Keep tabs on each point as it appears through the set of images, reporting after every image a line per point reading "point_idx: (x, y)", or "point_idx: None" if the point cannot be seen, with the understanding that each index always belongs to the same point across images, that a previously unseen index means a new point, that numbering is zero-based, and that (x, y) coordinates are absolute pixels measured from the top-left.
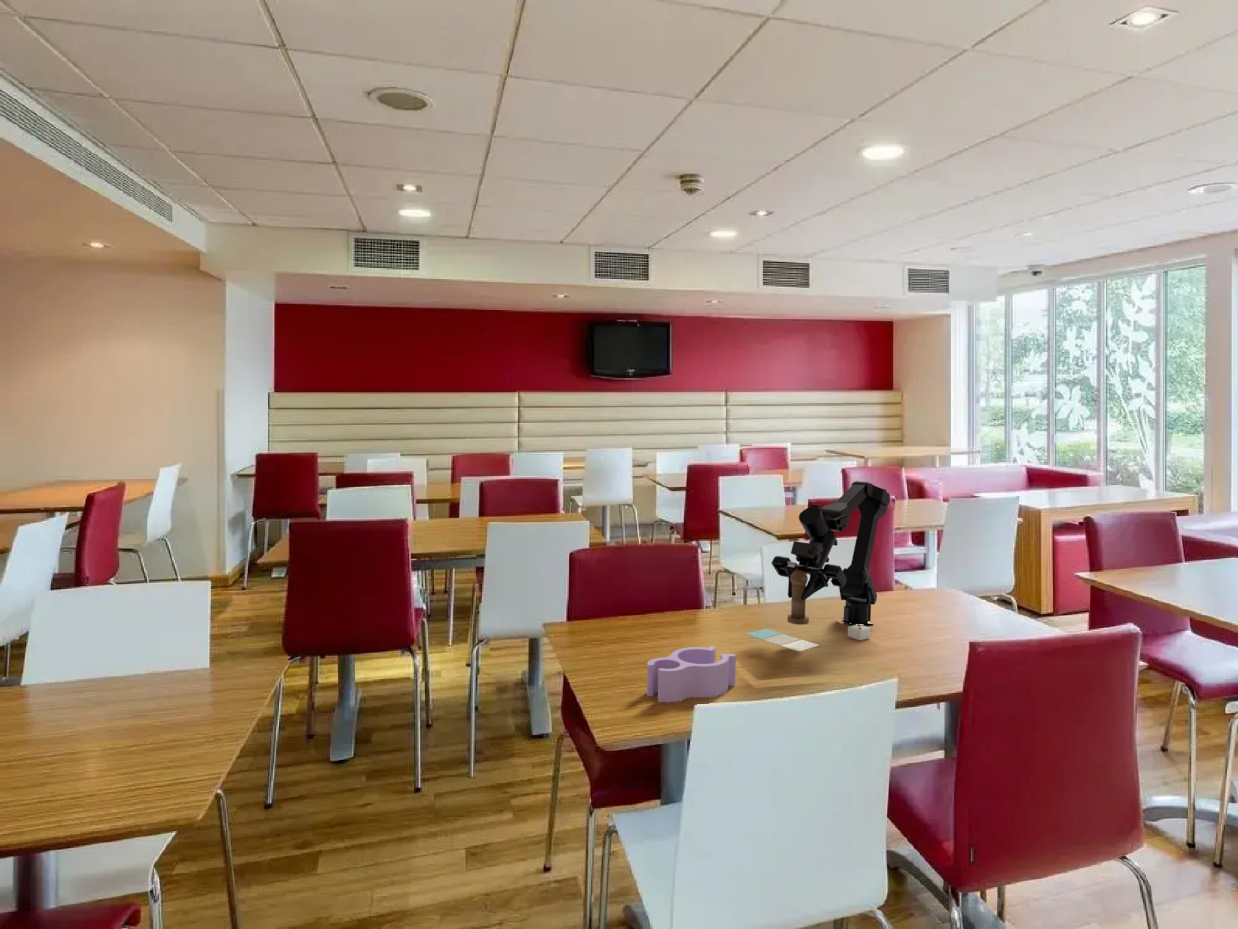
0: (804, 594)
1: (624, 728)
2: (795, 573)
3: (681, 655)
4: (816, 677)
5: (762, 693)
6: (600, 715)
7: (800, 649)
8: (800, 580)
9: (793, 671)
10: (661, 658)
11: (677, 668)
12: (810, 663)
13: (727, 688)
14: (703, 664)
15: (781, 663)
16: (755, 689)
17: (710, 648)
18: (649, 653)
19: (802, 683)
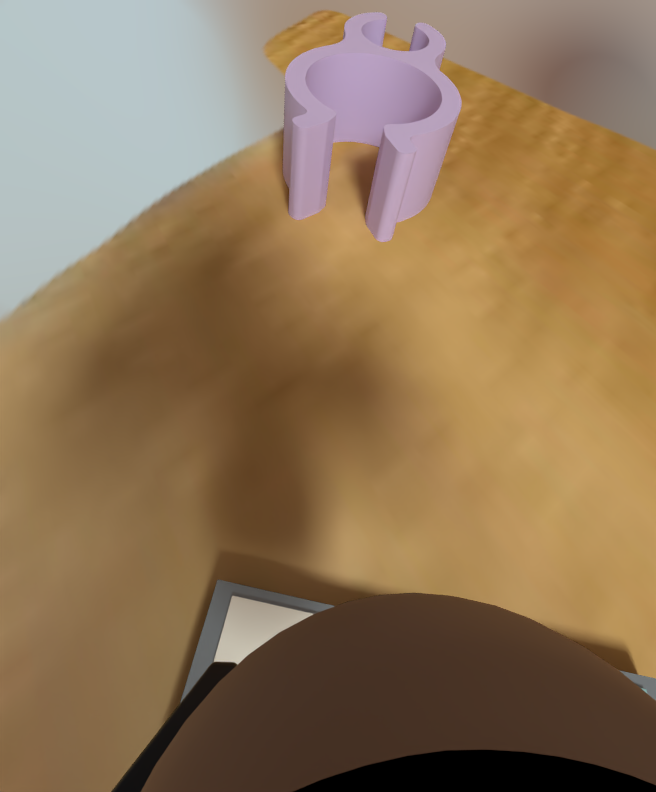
0: (184, 707)
1: (333, 30)
2: (535, 682)
3: (437, 106)
4: (70, 395)
5: (196, 206)
6: (399, 44)
7: (238, 638)
8: (249, 655)
9: (180, 401)
10: (435, 50)
11: (355, 25)
12: (144, 543)
13: (287, 180)
14: (324, 55)
15: (264, 455)
16: (226, 217)
17: (400, 136)
18: (648, 282)
19: (108, 317)
